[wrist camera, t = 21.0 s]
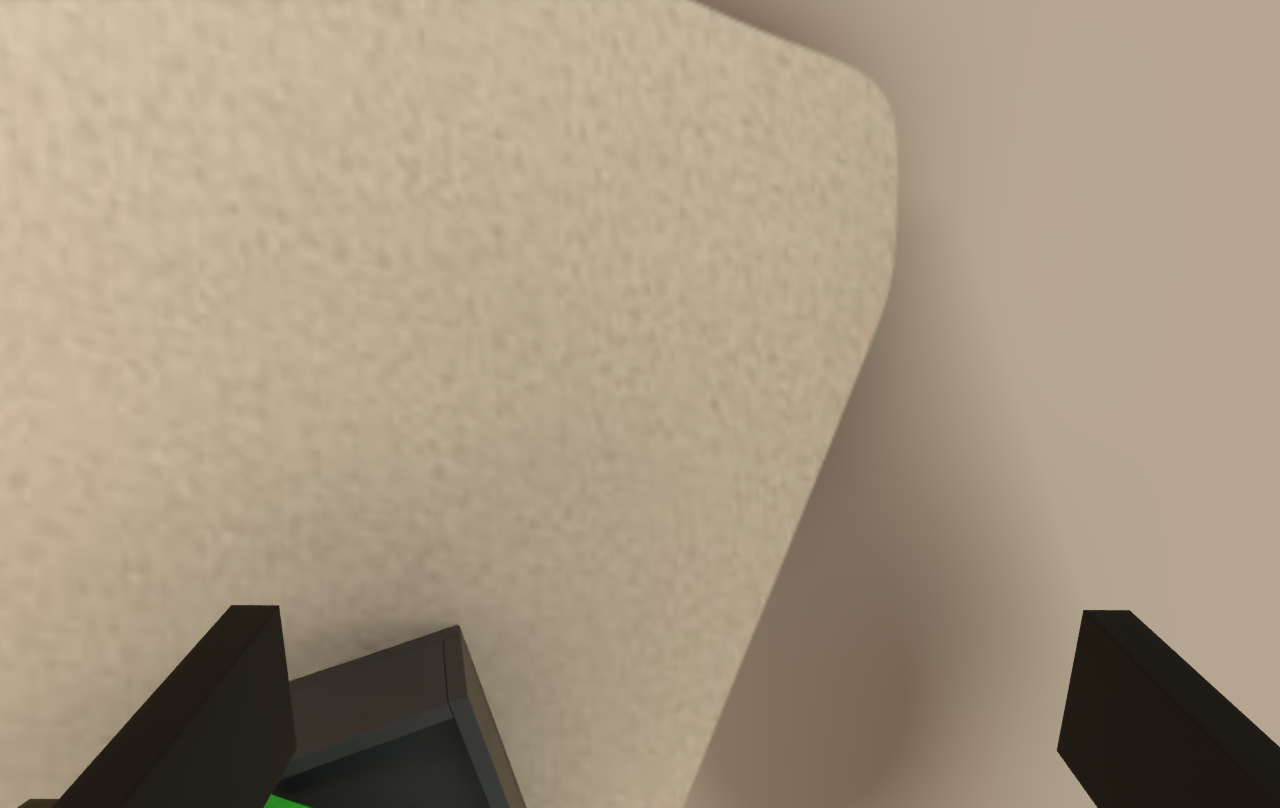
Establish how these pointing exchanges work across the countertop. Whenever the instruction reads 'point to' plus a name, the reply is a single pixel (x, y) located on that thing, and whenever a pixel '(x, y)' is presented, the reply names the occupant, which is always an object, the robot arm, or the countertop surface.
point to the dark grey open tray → (399, 733)
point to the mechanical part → (284, 803)
